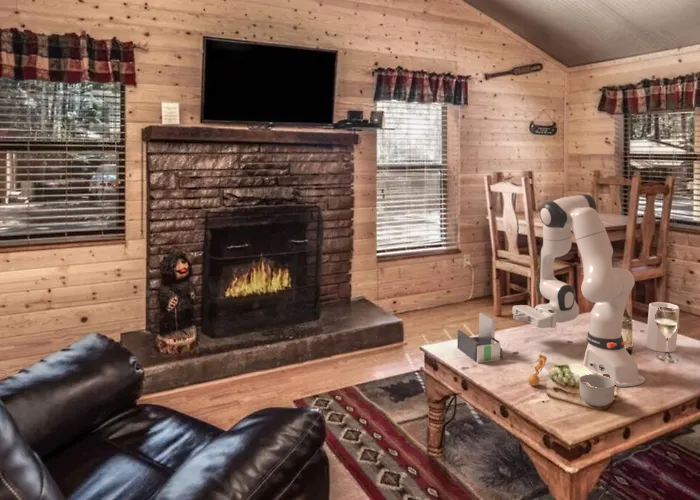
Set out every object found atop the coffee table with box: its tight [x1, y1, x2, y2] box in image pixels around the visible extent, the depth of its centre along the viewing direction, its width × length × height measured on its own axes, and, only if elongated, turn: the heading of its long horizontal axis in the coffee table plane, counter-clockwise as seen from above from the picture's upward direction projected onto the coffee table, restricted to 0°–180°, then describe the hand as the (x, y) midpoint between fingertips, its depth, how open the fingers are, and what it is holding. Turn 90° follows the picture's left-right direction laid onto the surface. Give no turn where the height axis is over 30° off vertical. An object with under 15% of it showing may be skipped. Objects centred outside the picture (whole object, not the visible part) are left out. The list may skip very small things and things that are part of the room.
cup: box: [645, 301, 680, 353], centre depth 218 cm, size 11×11×18 cm
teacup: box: [578, 373, 616, 408], centre depth 175 cm, size 14×11×8 cm
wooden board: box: [478, 311, 500, 345], centre depth 216 cm, size 14×2×14 cm, turn 16°
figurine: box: [527, 353, 547, 387], centre depth 187 cm, size 8×6×12 cm
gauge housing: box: [457, 329, 503, 364], centre depth 218 cm, size 18×12×8 cm
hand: (515, 317), depth 221 cm, fingers closed
